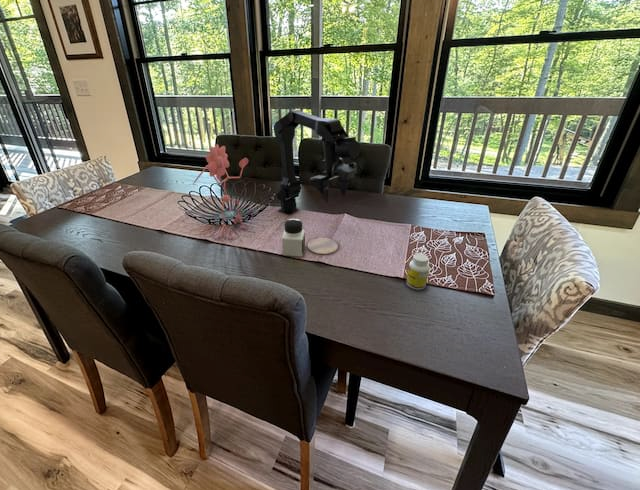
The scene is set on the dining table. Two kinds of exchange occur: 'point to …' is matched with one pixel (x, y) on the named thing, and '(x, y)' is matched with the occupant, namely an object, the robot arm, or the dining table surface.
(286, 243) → the medicine bottle
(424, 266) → the supplement bottle
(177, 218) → the dining table surface
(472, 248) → the dining table surface
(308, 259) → the dining table surface
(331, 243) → the coaster
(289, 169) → the robot arm
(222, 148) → the figurine
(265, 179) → the dining table surface
